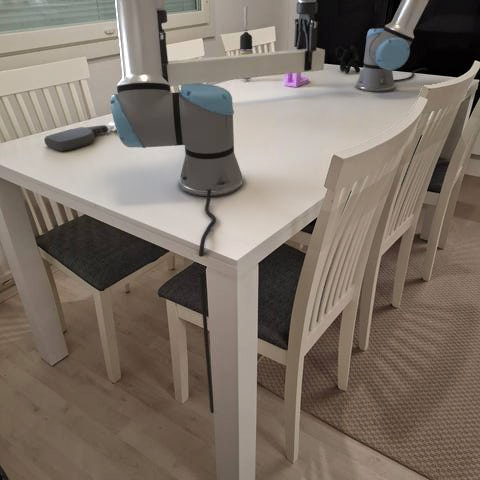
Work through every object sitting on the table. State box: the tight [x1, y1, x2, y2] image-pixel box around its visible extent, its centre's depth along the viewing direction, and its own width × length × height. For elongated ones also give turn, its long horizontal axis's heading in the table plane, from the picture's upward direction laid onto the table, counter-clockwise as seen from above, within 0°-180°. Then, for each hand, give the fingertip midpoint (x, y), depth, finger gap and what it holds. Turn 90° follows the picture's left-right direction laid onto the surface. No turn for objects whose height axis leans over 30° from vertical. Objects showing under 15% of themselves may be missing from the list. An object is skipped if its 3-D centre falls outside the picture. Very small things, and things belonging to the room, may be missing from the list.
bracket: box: [284, 72, 310, 88], centre depth 196 cm, size 13×6×7 cm, turn 143°
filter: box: [239, 6, 253, 82], centre depth 196 cm, size 6×6×30 cm
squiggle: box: [334, 45, 361, 74], centre depth 214 cm, size 11×10×15 cm
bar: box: [167, 47, 326, 87], centre depth 163 cm, size 71×5×7 cm, turn 112°
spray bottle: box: [44, 121, 117, 152], centre depth 139 cm, size 3×11×25 cm
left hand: (162, 83), depth 156 cm, fingers closed on bar, 5 cm apart
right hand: (303, 68), depth 174 cm, fingers closed on bar, 5 cm apart
